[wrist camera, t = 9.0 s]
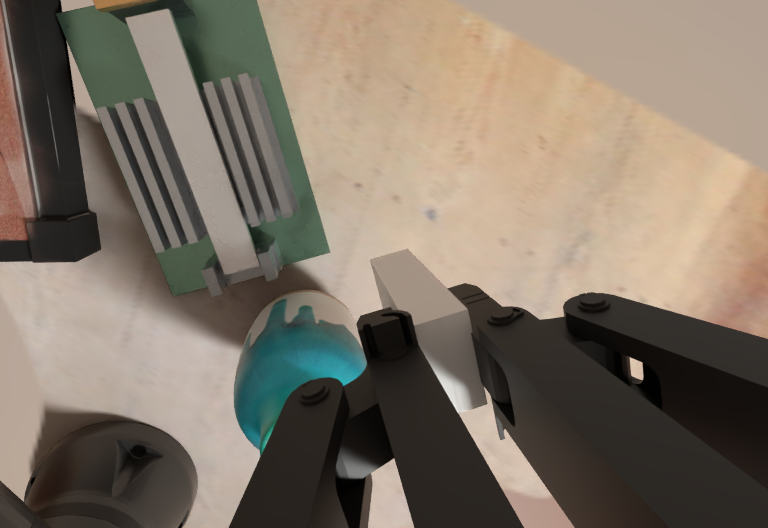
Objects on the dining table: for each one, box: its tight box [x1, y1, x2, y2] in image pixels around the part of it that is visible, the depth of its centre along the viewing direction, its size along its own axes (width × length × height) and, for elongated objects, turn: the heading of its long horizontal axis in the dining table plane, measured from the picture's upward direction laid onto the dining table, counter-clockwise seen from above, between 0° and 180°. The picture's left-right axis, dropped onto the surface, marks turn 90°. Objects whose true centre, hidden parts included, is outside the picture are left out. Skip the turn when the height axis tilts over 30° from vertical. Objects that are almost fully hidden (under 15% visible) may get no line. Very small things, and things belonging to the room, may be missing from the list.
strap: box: [125, 9, 260, 275], centre depth 34 cm, size 3×20×1 cm, turn 14°
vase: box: [234, 290, 367, 456], centre depth 35 cm, size 11×11×19 cm
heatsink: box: [56, 0, 330, 297], centre depth 35 cm, size 15×24×7 cm, turn 14°
